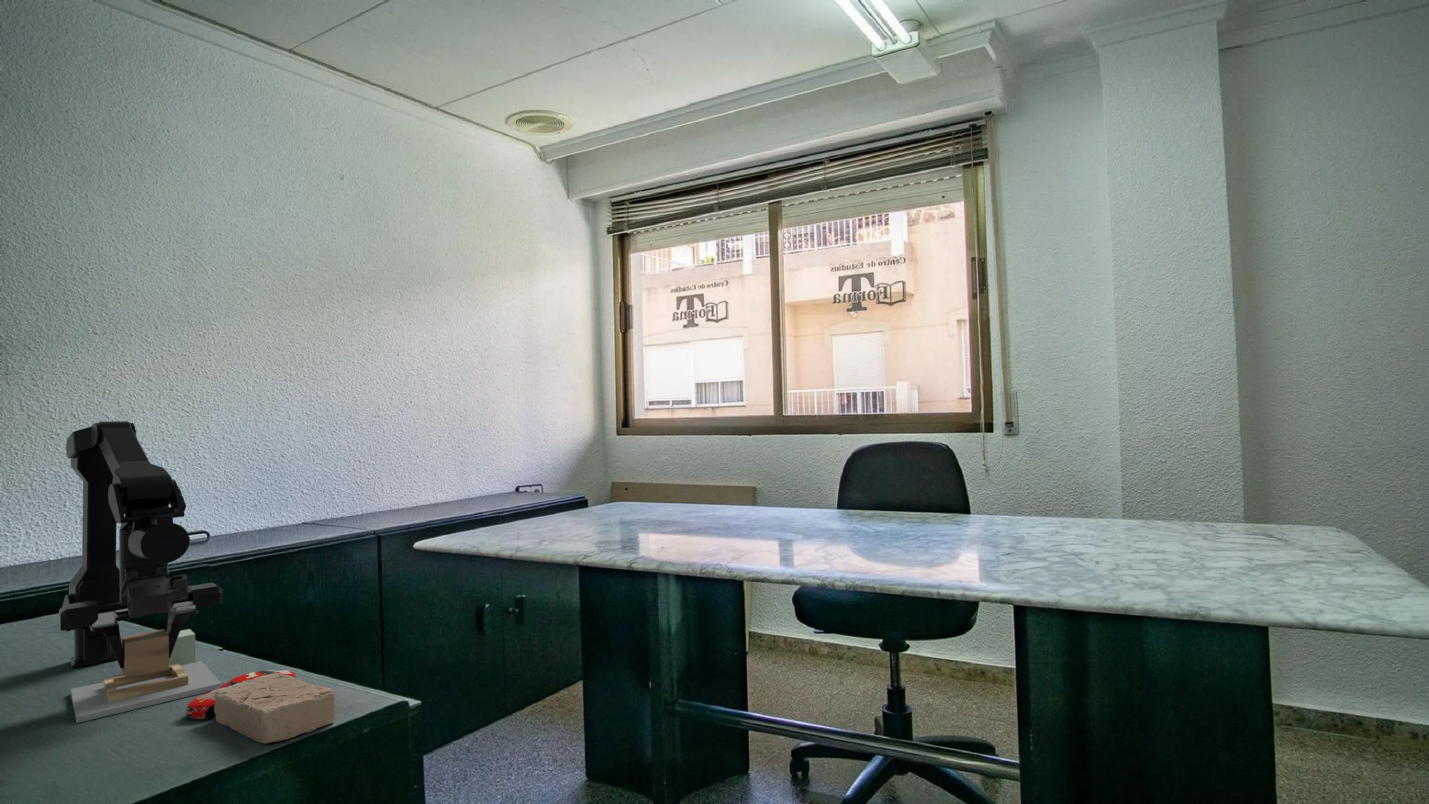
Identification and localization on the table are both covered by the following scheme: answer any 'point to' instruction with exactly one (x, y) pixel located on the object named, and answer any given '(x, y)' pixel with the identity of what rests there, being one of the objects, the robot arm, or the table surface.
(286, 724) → the brick
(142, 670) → the walnut block
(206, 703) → the race car
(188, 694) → the baseplate
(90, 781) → the table surface
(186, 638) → the sage block
